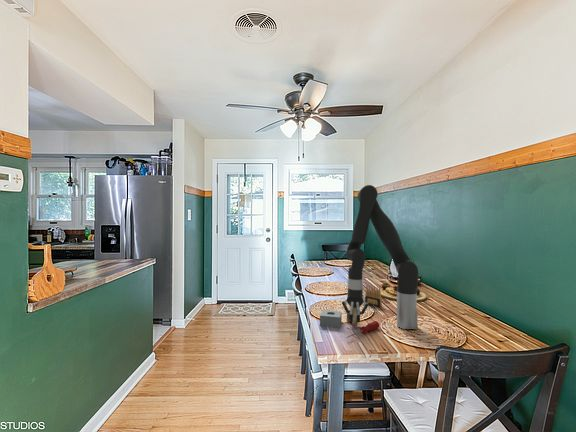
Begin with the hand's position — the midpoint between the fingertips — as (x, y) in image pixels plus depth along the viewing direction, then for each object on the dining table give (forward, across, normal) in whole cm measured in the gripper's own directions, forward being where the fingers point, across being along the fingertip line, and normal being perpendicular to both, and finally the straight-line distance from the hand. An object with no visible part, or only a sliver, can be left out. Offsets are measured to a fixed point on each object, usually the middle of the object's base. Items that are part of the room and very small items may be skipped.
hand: (354, 321), depth 151 cm
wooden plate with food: (+2, -30, -68) cm, 75 cm away
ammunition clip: (+2, -10, -38) cm, 39 cm away
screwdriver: (+2, -4, +12) cm, 12 cm away
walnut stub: (+2, +2, -6) cm, 6 cm away
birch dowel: (+2, 0, 0) cm, 2 cm away
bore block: (+2, +12, +1) cm, 12 cm away
